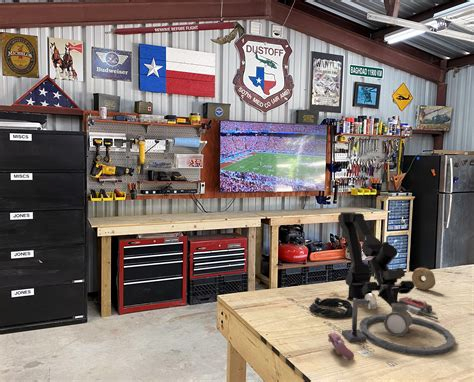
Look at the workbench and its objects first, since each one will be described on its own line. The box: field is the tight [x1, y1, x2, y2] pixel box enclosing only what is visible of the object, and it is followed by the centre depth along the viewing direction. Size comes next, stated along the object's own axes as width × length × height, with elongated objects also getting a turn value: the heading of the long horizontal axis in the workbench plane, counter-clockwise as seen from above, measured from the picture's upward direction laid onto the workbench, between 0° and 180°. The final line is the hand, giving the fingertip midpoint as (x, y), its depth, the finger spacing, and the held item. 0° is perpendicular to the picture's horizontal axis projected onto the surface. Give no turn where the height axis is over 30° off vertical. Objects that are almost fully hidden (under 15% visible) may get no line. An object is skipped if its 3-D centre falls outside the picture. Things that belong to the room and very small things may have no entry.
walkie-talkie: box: [397, 296, 439, 320], centre depth 167 cm, size 9×4×20 cm
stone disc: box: [411, 267, 437, 291], centre depth 195 cm, size 10×4×10 cm, turn 46°
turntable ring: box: [358, 313, 456, 356], centre depth 144 cm, size 30×30×2 cm
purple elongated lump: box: [327, 331, 355, 360], centre depth 130 cm, size 10×5×7 cm, turn 5°
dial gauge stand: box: [341, 292, 378, 343], centre depth 140 cm, size 9×6×15 cm, turn 100°
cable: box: [308, 297, 353, 319], centre depth 164 cm, size 17×14×4 cm
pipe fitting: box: [383, 303, 413, 337], centre depth 147 cm, size 12×8×10 cm
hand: (395, 309), depth 150 cm, fingers closed
